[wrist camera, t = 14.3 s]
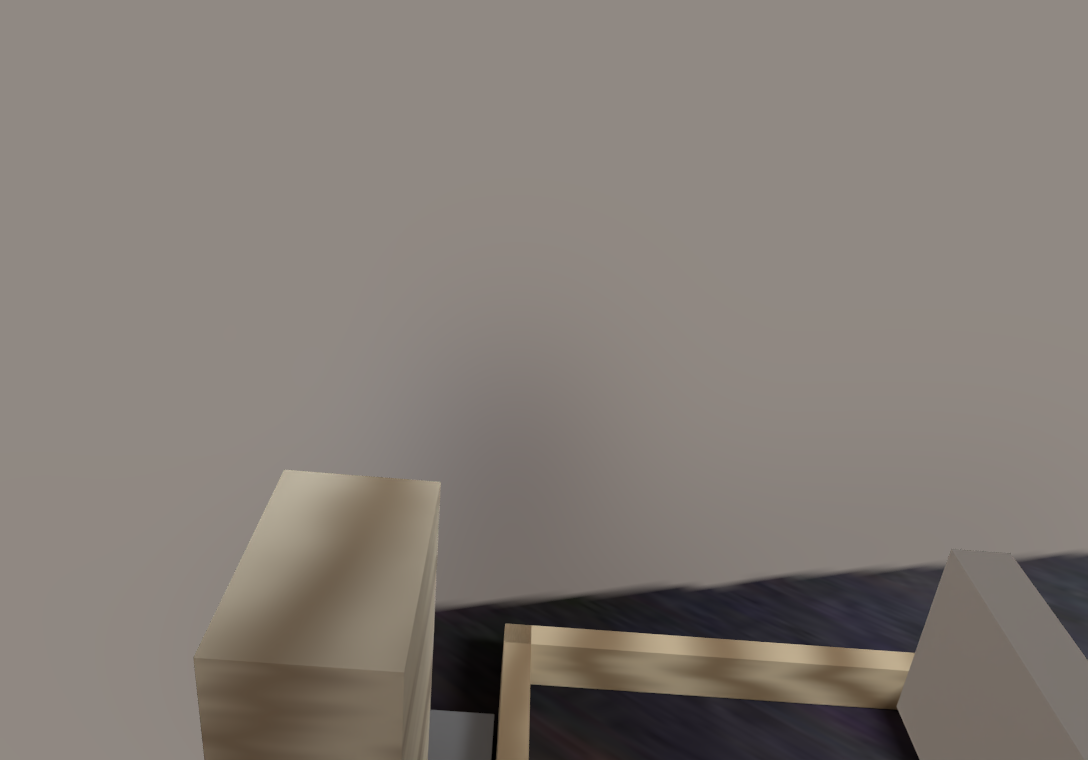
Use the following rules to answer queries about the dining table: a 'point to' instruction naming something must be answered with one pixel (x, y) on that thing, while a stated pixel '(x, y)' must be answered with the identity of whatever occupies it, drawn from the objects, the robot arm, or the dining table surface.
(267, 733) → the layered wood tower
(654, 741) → the dining table surface
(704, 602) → the dining table surface
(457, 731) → the slate board
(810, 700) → the wooden frame
